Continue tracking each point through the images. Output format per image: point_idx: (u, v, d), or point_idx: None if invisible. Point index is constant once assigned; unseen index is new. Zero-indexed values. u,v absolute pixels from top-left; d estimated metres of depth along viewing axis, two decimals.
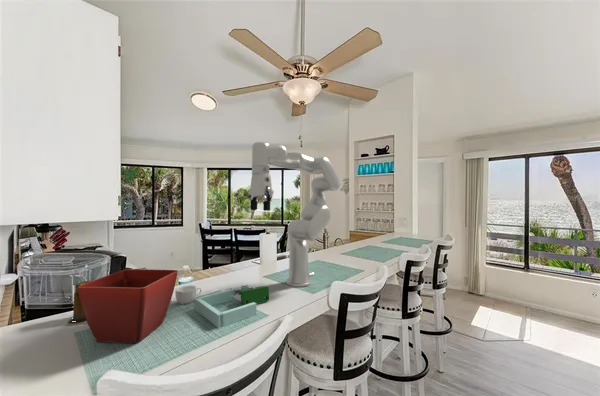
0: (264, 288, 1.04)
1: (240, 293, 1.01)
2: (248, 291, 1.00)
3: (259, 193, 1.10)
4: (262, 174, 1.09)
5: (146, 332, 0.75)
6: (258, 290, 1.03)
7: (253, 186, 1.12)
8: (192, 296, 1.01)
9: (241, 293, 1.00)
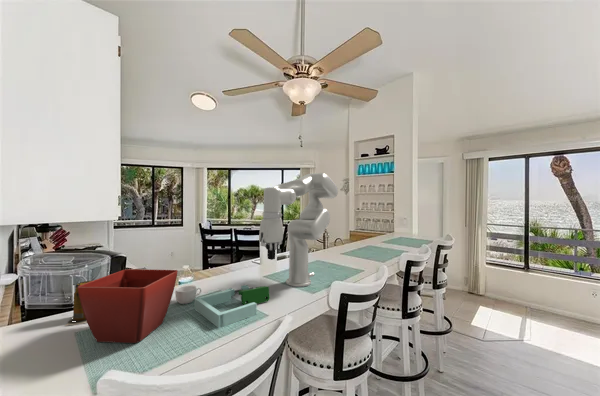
0: (264, 288, 1.04)
1: (240, 293, 1.01)
2: (248, 291, 1.00)
3: (278, 239, 1.10)
4: (281, 220, 1.12)
5: (146, 332, 0.75)
6: (258, 290, 1.03)
7: (272, 233, 1.08)
8: (192, 296, 1.01)
9: (241, 293, 1.00)
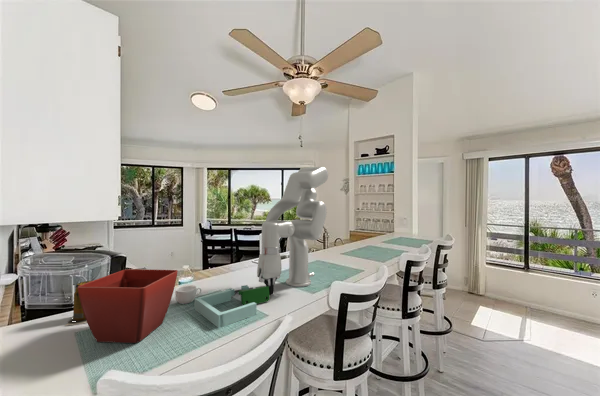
0: (264, 288, 1.04)
1: (240, 293, 1.01)
2: (248, 291, 1.00)
3: (276, 274, 1.10)
4: (279, 254, 1.11)
5: (146, 332, 0.75)
6: (258, 290, 1.02)
7: (270, 268, 1.07)
8: (192, 296, 1.01)
9: (241, 293, 1.00)
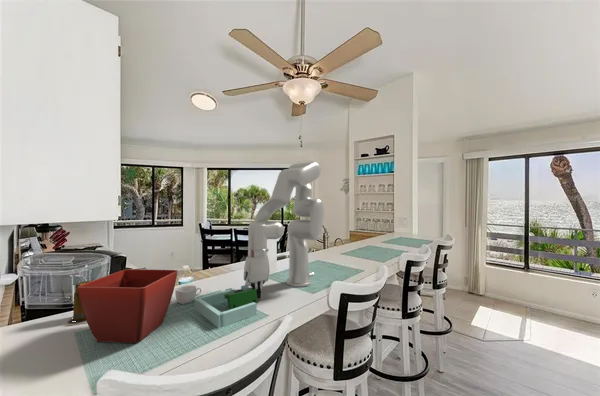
0: (252, 291, 1.00)
1: (227, 297, 0.96)
2: (235, 295, 0.96)
3: (264, 277, 1.05)
4: (267, 256, 1.07)
5: (146, 332, 0.75)
6: (246, 293, 0.98)
7: (257, 271, 1.02)
8: (192, 296, 1.01)
9: (228, 297, 0.95)
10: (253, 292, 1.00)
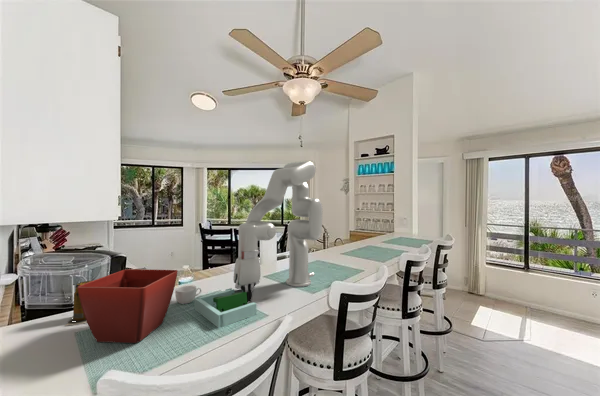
0: (242, 294, 0.97)
1: (215, 300, 0.93)
2: (224, 298, 0.93)
3: (255, 279, 1.02)
4: (258, 258, 1.04)
5: (146, 332, 0.75)
6: (235, 297, 0.95)
7: (247, 274, 0.99)
8: (192, 296, 1.01)
9: (216, 300, 0.92)
10: (243, 295, 0.97)
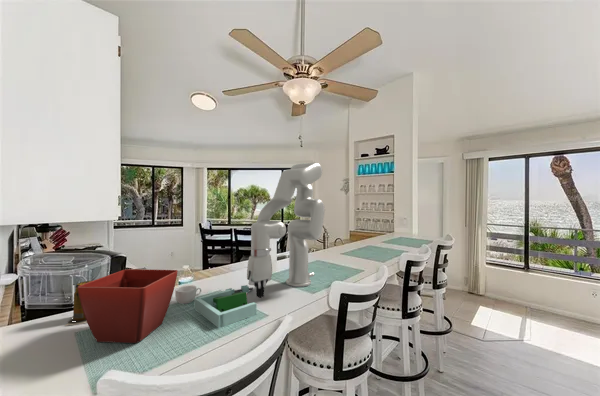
0: (241, 294, 0.97)
1: (215, 301, 0.93)
2: (224, 298, 0.93)
3: (267, 276, 1.06)
4: (270, 256, 1.08)
5: (146, 332, 0.75)
6: (235, 297, 0.95)
7: (260, 271, 1.04)
8: (192, 296, 1.01)
9: (216, 301, 0.92)
10: (243, 295, 0.97)
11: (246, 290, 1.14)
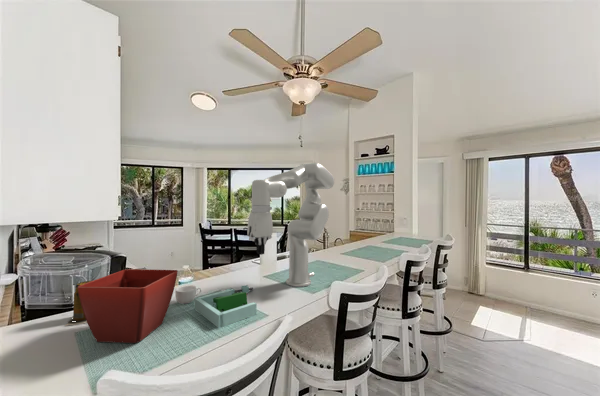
0: (242, 294, 0.97)
1: (215, 301, 0.93)
2: (224, 298, 0.93)
3: (267, 233, 1.07)
4: (270, 214, 1.08)
5: (146, 332, 0.75)
6: (235, 297, 0.95)
7: (260, 227, 1.04)
8: (192, 296, 1.01)
9: (216, 301, 0.92)
10: (243, 295, 0.97)
11: (246, 290, 1.14)
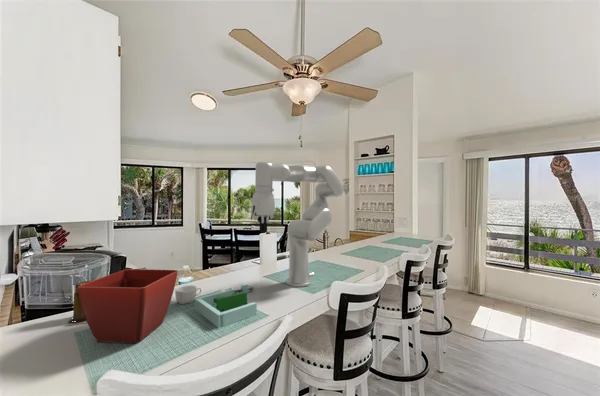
0: (242, 295, 0.97)
1: (215, 301, 0.93)
2: (224, 299, 0.93)
3: (270, 213, 1.14)
4: None
5: (146, 332, 0.75)
6: (235, 297, 0.95)
7: (263, 206, 1.11)
8: (192, 296, 1.01)
9: (217, 301, 0.92)
10: (243, 296, 0.97)
11: (246, 290, 1.14)
